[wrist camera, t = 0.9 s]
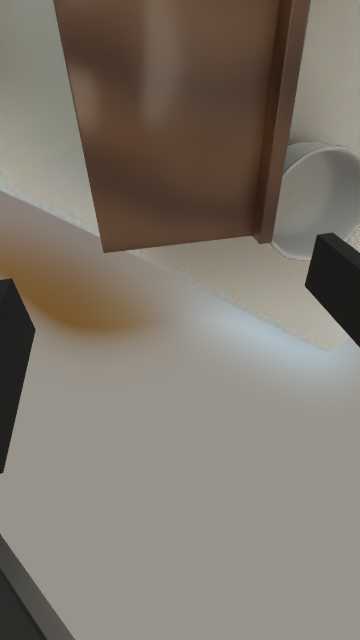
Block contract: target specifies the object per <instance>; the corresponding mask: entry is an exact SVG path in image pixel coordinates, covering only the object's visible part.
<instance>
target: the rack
mask: <svg viewBox="0 0 360 640" xmlns="http://www.w3.org/2000/svg"><path fill="white" fill-rule="evenodd" d="M53 1H54V6H55V12H56V17H57V22H58V27H59V32H60V37H61V42H62V47H63V52H64V57H65V62H66V67H67V72H68V77H69V82H70V87H71V92H72V97H73V102H74V107H75V112H76V117H77V122H78V127H79V132H80V137H81V142H82V147H83V152H84V157H85V162H86V167H87V172H88V177H89V182H90V187H91V192H92V197H93V202H94V207H95V212H96V217H97V222H98V227H99V232H100V237H101V242H102V247H103V252H104V253H108V252H117V251H125V250H134V249H142V248H151V247H159V246H168V245H176V244H185V243H193V242H201V241H210V240H218V239H227V238H235V237H244V236H253V237H254V238H255V240H256V241H257V242H258V243H259V244H264V243H271V242H272V239H273V233H274V227H275V220H276V214H277V208H278V202H279V195H280V189H281V183H282V177H283V171H284V164H285V158H286V152H287V146H288V139H289V133H290V127H291V121H292V115H293V108H294V102H295V96H296V90H297V83H298V77H299V71H300V65H301V59H302V52H303V46H304V40H305V34H306V27H307V21H308V15H309V9H310V3H311V0H53Z"/></svg>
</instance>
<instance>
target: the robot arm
mask: <svg viewBox="0 0 360 640" xmlns="http://www.w3.org/2000/svg"><path fill="white" fill-rule="evenodd" d="M305 287H306V288H307V289H308V290H309V291H310V292H311V293H312V295H313V296H314V297H315V298H316V299H317V300H318V301H319V302H320V304H321V305H322V306H323V307H324V308H325V309H326V310H327V311H328V312H329V314H330V315H331V316H332V317H333V318H334V319H335V320H336V321H337V323H338V324H339V325H340V326H341V327H342V328H343V329H344V330H345V331H346V333H347V334H348V335H349V336H350V337H351V338H352V339H353V340H354V341H355V343H356V344H357V345H358V346H359V347H360V253H359V252H358V251H357V250H355V249H354V248H353V247H351V246H350V245H349V244H347V243H346V242H345V241H343V240H342V239H341V238H339V237H338V236H337V235H336V234H334V233H333V232H332V233H325V234H318V235H317V236H316V240H315V245H314V249H313V253H312V257H311V261H310V266H309V270H308V274H307V278H306V282H305ZM34 334H35V328H34V325H33V323H32V321H31V319H30V317H29V314H28V312H27V310H26V308H25V306H24V304H23V302H22V299H21V297H20V295H19V293H18V290H17V288H16V286H15V284H14V282H13V280H12V279H4V280H0V474H1V473H3V471H4V467H5V462H6V457H7V453H8V449H9V445H10V440H11V436H12V431H13V427H14V423H15V418H16V414H17V409H18V405H19V400H20V396H21V392H22V387H23V383H24V378H25V374H26V369H27V365H28V361H29V356H30V352H31V347H32V343H33V338H34ZM0 640H75V639H74V638H73V636H72V635H71V633H70V632H69V631H68V629H67V628H66V626H65V625H64V623H63V622H62V621H61V619H60V618H59V616H58V615H57V614H56V612H55V611H54V609H53V608H52V607H51V605H50V604H49V602H48V601H47V600H46V598H45V597H44V595H43V594H42V593H41V591H40V590H39V588H38V587H37V585H36V584H35V582H34V581H33V580H32V578H31V577H30V575H29V574H28V573H27V571H26V570H25V568H24V567H23V566H22V564H21V563H20V561H19V560H18V558H17V557H16V556H15V554H14V553H13V551H12V550H11V549H10V547H9V546H8V544H7V543H6V542H5V540H4V539H3V538H2V536H1V534H0Z"/></svg>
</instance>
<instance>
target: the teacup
mask: <svg viewBox="0 0 360 640" xmlns="http://www.w3.org/2000/svg"><path fill="white" fill-rule="evenodd" d="M359 226H360V155H359V154H358V153H357V152H356V151H354V150H352V149H350V148H347V147H343V146H333V145H329V144H323V143H317V142H300V143H296V144H292V145H289V146H287V152H286V158H285V164H284V171H283V177H282V183H281V189H280V195H279V202H278V208H277V214H276V220H275V227H274V233H273V239H272V242H271V243H270V244H271V246H272V247H273V248H274V249H275V250H276V251H277V252H278V253H280V254H281V255H283V256H284V257H287V258H289V259H293V260H300V261H304V260H311V257H312V253H313V249H314V245H315V240H316V236H317V235H318V234H325V233H332V232H333V233H334V234H336V235H337V236H338V237H339V238H341V239H342V240H343V241H345V242H346V241H347V240H348V239H349V238H350V237H351V236H352V235H353V234H354V233H355V231H356V230H357V229H358V227H359Z"/></svg>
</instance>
